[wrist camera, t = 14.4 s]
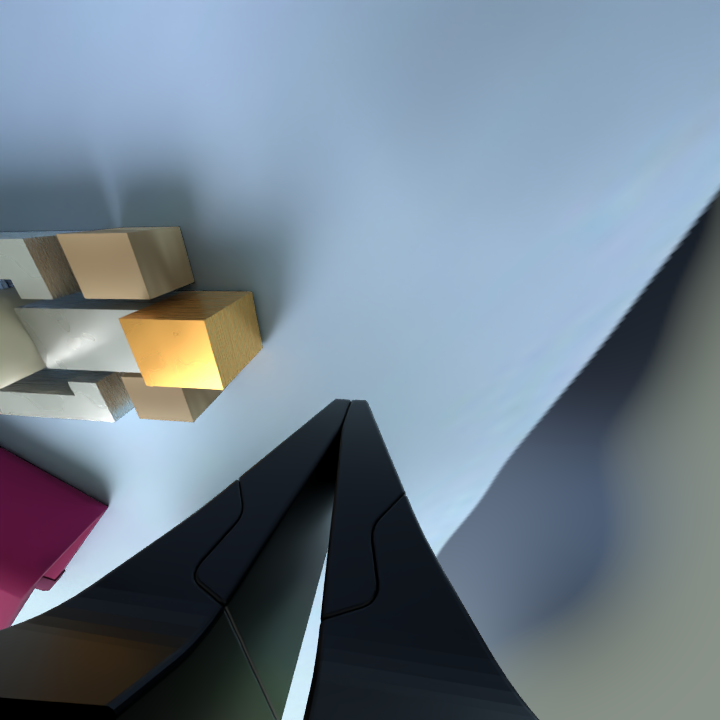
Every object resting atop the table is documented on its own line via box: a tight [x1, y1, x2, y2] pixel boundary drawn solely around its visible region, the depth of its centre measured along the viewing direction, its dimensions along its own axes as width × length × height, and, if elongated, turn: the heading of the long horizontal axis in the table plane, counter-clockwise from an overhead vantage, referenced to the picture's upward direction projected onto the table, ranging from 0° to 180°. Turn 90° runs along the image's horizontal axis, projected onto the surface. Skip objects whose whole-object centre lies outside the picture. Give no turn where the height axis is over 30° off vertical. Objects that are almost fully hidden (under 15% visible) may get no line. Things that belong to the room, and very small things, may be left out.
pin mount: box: [56, 227, 224, 422], centre depth 15 cm, size 9×3×3 cm, turn 2°
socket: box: [0, 231, 134, 422], centre depth 15 cm, size 9×9×4 cm
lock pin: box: [14, 291, 263, 390], centre depth 14 cm, size 3×10×4 cm, turn 92°
